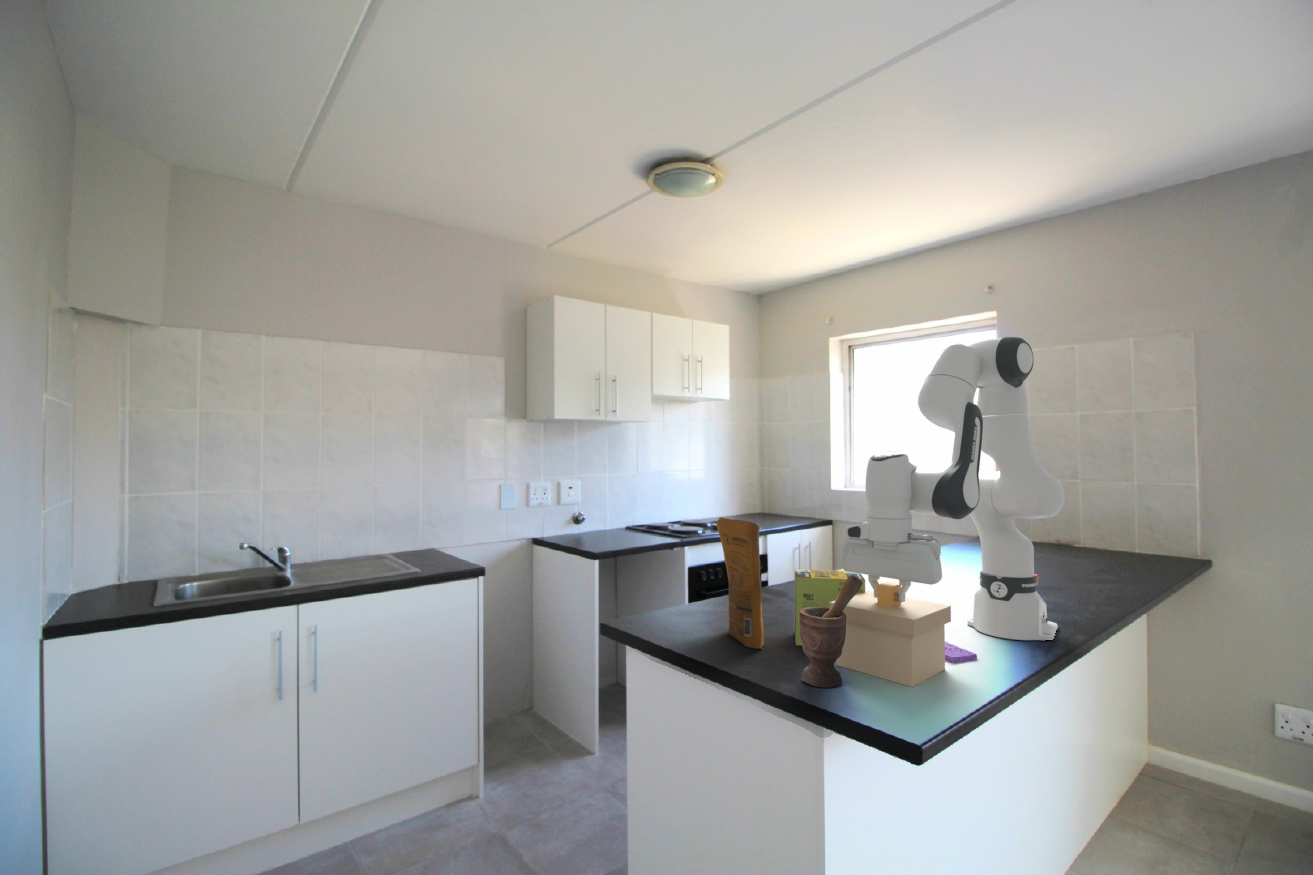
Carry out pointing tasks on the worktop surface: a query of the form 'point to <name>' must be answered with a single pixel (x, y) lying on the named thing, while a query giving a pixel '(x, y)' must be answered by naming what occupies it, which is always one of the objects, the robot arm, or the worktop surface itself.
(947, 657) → the sponges
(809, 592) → the protein box
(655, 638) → the worktop surface
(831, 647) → the mortar and pestle
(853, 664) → the carton
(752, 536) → the pancake mix bag
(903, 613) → the carton lid
